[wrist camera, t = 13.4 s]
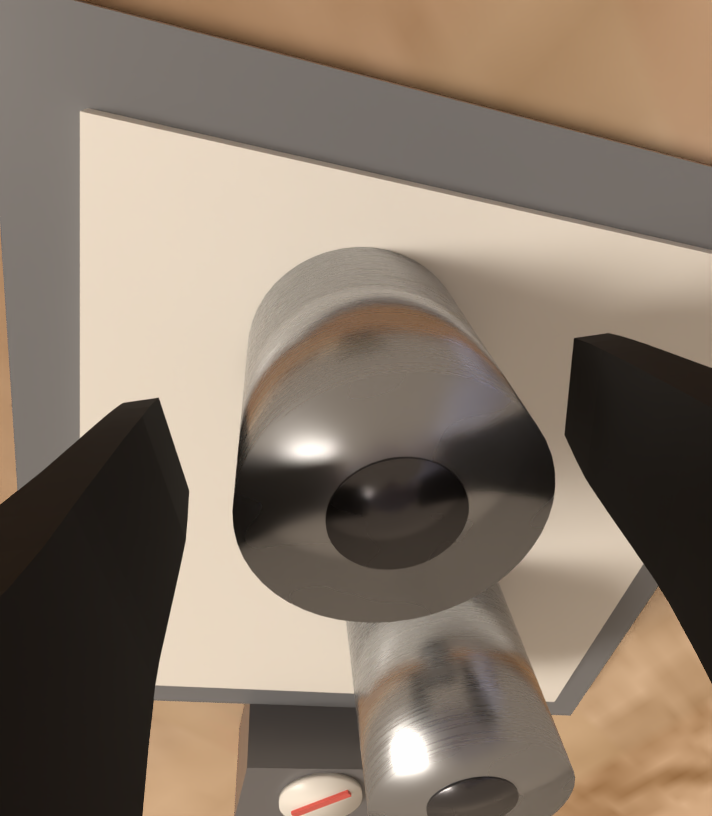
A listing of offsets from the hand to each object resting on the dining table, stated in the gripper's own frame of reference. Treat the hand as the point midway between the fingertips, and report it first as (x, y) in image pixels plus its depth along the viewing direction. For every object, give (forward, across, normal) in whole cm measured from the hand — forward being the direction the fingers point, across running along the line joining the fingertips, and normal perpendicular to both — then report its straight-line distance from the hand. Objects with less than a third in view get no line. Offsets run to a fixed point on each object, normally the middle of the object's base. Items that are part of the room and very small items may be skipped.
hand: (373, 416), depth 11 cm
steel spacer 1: (+2, 0, 0) cm, 2 cm away
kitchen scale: (+4, 0, +6) cm, 7 cm away
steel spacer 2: (+2, -1, +8) cm, 9 cm away
